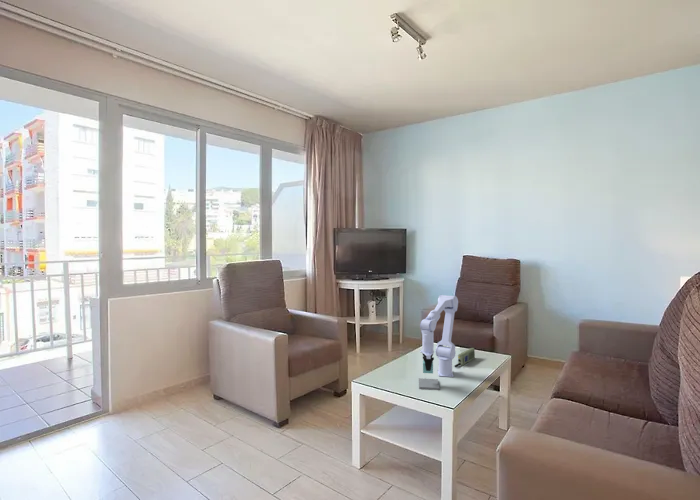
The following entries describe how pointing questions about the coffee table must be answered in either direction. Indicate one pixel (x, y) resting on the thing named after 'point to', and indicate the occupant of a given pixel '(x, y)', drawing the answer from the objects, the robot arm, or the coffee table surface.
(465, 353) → the handheld radio
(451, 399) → the coffee table surface
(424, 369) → the teal block
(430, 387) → the slate mat
